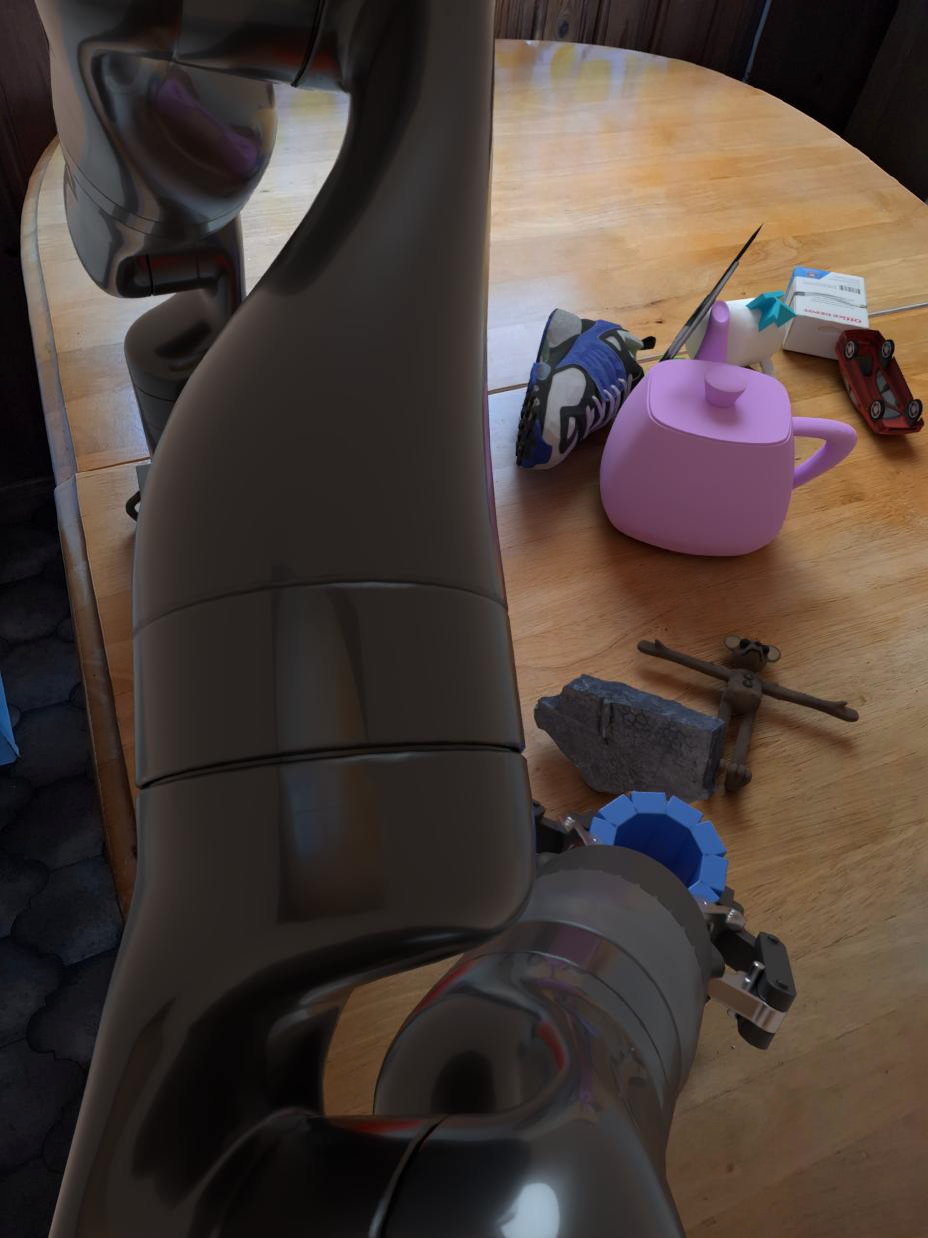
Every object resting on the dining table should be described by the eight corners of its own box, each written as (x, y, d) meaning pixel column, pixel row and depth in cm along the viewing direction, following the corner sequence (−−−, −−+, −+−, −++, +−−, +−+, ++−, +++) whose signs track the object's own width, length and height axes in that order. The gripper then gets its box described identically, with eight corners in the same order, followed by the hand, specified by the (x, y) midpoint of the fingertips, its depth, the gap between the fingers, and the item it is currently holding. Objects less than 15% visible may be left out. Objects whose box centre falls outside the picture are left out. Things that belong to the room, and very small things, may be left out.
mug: (730, 277, 92) (781, 272, 100) (662, 330, 98) (715, 321, 106) (785, 379, 91) (832, 366, 99) (713, 425, 98) (763, 409, 106)
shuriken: (589, 477, 89) (715, 308, 73) (580, 471, 89) (705, 300, 73) (659, 372, 105) (775, 213, 89) (652, 366, 105) (766, 207, 89)
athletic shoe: (514, 411, 80) (649, 442, 79) (556, 280, 98) (666, 304, 97) (498, 498, 87) (622, 526, 86) (540, 361, 105) (643, 383, 104)
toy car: (838, 320, 101) (819, 353, 105) (889, 424, 94) (867, 455, 98) (883, 317, 102) (863, 350, 106) (938, 420, 95) (913, 451, 99)
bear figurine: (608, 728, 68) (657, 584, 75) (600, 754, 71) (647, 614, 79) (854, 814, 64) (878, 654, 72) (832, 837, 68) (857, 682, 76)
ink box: (781, 300, 115) (780, 350, 108) (795, 263, 111) (795, 313, 104) (849, 313, 114) (853, 365, 107) (865, 276, 111) (870, 328, 103)
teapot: (817, 593, 82) (887, 463, 70) (585, 551, 83) (617, 417, 72) (803, 438, 97) (859, 310, 85) (606, 404, 98) (635, 274, 87)
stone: (512, 771, 68) (529, 693, 61) (537, 710, 72) (555, 629, 64) (694, 837, 66) (735, 764, 58) (709, 770, 69) (750, 693, 62)
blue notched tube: (589, 1006, 45) (624, 941, 39) (542, 885, 49) (566, 808, 43) (703, 968, 47) (754, 900, 40) (648, 855, 51) (686, 776, 44)
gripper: (853, 1013, 27) (824, 875, 43) (449, 780, 32) (557, 732, 47) (739, 1217, 28) (751, 1009, 44) (362, 964, 33) (496, 857, 48)
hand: (650, 866), depth 46 cm, fingers closed on blue notched tube, 6 cm apart
